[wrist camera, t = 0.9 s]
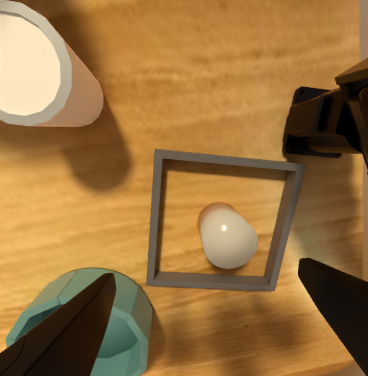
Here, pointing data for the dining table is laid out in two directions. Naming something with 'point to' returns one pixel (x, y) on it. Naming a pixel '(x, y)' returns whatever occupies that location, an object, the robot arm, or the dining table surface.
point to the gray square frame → (278, 238)
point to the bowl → (117, 327)
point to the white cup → (42, 74)
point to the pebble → (226, 236)
